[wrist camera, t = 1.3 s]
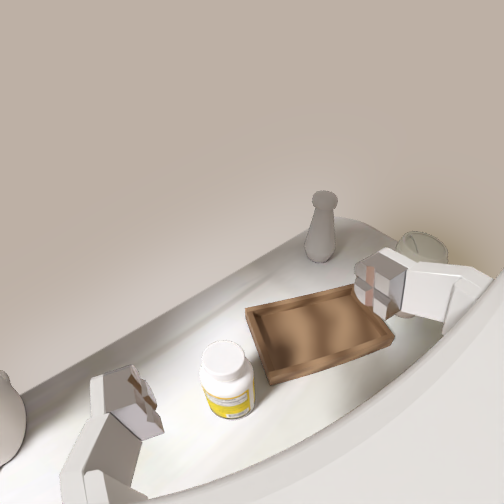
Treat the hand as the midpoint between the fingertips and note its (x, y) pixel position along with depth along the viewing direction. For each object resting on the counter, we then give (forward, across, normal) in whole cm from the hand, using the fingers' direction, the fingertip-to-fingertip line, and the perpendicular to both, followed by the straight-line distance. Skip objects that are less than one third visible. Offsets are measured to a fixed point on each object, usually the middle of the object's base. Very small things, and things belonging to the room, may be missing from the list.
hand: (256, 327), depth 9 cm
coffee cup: (+15, -29, +27) cm, 42 cm away
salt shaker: (+33, -24, +23) cm, 47 cm away
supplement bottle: (+13, +2, +23) cm, 27 cm away
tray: (+18, -13, +24) cm, 33 cm away
